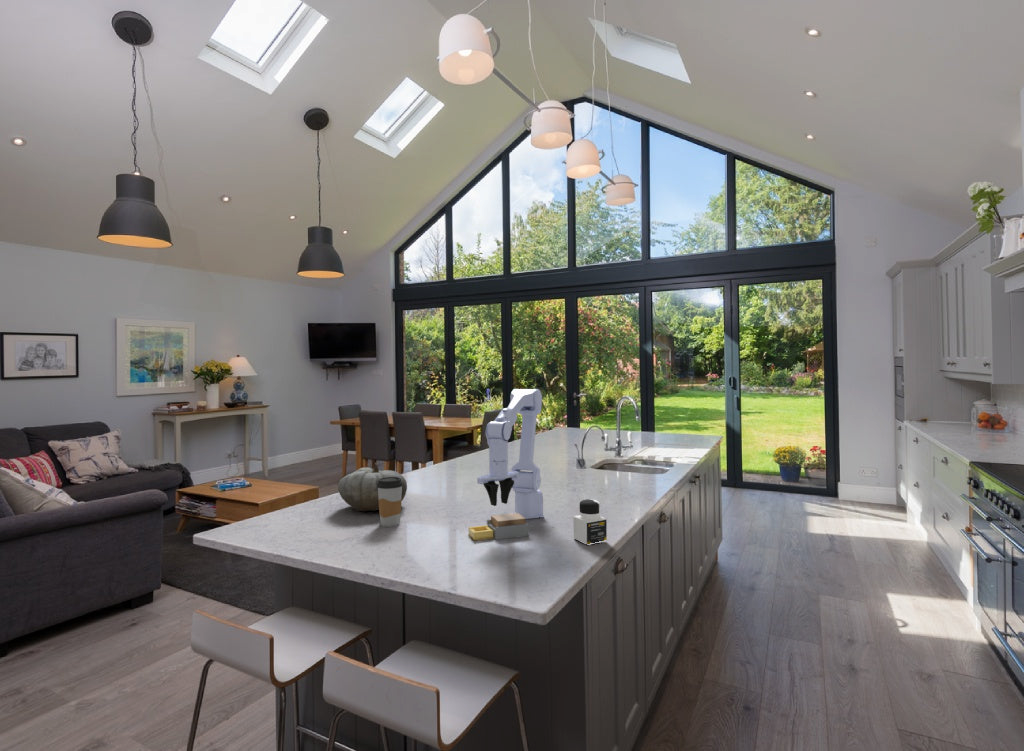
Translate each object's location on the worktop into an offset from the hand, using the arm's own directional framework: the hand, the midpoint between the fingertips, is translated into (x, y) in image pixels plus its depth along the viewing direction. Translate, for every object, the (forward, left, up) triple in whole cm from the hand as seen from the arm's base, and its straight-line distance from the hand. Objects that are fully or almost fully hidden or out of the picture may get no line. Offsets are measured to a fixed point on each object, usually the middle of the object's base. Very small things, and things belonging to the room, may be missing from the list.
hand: (498, 504), depth 170 cm
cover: (-3, 0, -7) cm, 7 cm away
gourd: (+33, -48, -10) cm, 59 cm away
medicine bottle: (-23, +16, -10) cm, 30 cm away
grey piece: (-3, 0, -9) cm, 10 cm away
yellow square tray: (+6, 0, -9) cm, 11 cm away
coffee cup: (+30, -24, -10) cm, 40 cm away
